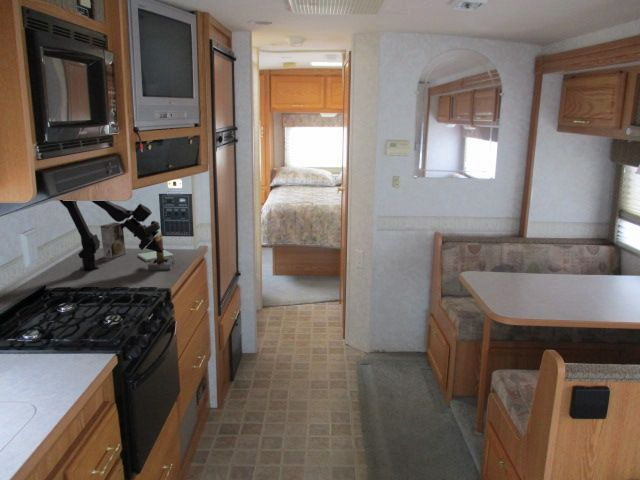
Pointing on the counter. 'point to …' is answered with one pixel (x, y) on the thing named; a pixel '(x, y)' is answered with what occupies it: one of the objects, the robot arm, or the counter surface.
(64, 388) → the counter surface
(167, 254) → the pale green flat slab
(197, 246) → the counter surface
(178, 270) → the counter surface
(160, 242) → the brown wooden column
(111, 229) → the coffee box
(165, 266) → the lock plate
